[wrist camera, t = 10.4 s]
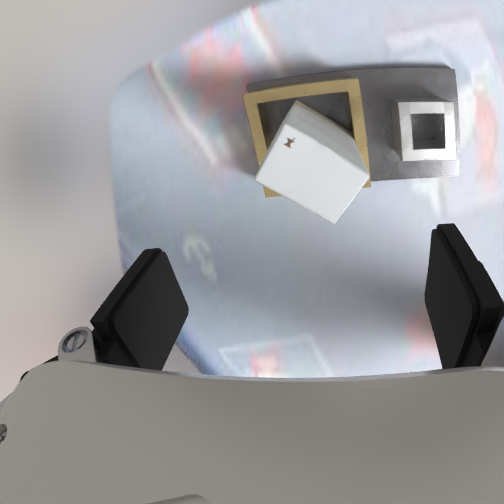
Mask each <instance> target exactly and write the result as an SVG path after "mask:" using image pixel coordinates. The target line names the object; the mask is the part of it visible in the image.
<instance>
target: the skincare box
mask: <svg viewBox="0 0 504 504" xmlns="http://www.w3.org/2000/svg"><path fill="white" fill-rule="evenodd" d="M369 178H370V175H369V172H368V170H367V168H366V166H365V163H364V161H363V159H362V157H361V154H360V152H359V150H358V148H357V145H356V143H355V141H354V139H353V137H352V134H351V132H350V131H348V130H347V129H345V128H344V127H342V126H340V125H339V124H337V123H336V122H334V121H332V120H331V119H329V118H327V117H326V116H324V115H322V114H321V113H319V112H317V111H315V110H314V109H312V108H310V107H308V106H307V105H305V104H303V103H301V102H299V101H298V100H296V101H295V102H294V103H293V105H292V107H291V108H290V110H289V112H288V113H287V115H286V117H285V119H284V120H283V122H282V124H281V126H280V128H279V129H278V131H277V133H276V135H275V137H274V139H273V141H272V143H271V145H270V147H269V149H268V151H267V153H266V155H265V157H264V159H263V161H262V163H261V165H260V167H259V169H258V171H257V173H256V175H255V177H254V179H255V181H257V182H258V183H260V184H262V185H264V186H266V187H268V188H270V189H271V190H273V191H275V192H277V193H279V194H281V195H282V196H284V197H286V198H288V199H290V200H292V201H293V202H295V203H297V204H299V205H301V206H303V207H305V208H306V209H308V210H310V211H312V212H314V213H315V214H317V215H319V216H321V217H322V218H324V219H326V220H328V221H329V222H331V223H332V224H335V223H336V221H337V220H338V219H339V217H340V216H341V215H342V213H343V212H344V211H345V210H346V208H347V207H348V206H349V204H350V203H351V202H352V200H353V199H354V198H355V197H356V195H357V194H358V193H359V191H360V190H361V189H362V187H363V186H364V185H365V183H366V182H367V180H368V179H369Z"/></svg>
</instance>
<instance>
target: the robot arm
mask: <svg viewBox="0 0 504 504" xmlns="http://www.w3.org/2000/svg"><path fill="white" fill-rule="evenodd" d="M425 304H426V308H427V311H428V315H429V318H430V321H431V325H432V329H433V332H434V336H435V340H436V344H437V347H438V352H439V356H440V360H441V364H442V368H443V369H438V370H430V371H420V372H410V373H398V374H384V375H370V376H353V377H328V378H262V377H235V376H217V375H203V374H190V373H179V372H169V371H162V369H163V366H164V364H165V362H166V360H167V358H168V356H169V354H170V351H171V350H172V347H173V345H174V343H175V341H176V339H177V337H178V335H179V333H180V331H181V328H182V326H183V324H184V322H185V320H186V318H187V316H188V312H189V309H188V305H187V303H186V300H185V298H184V296H183V293H182V291H181V289H180V286H179V284H178V281H177V279H176V277H175V274H174V272H173V269H172V267H171V264H170V262H169V259H168V257H167V255H166V253H165V252H162V250H161V249H159V248H154V249H145V250H144V251H143V252H142V253H141V255H140V256H139V257H138V258H137V260H136V261H135V262H134V263H133V265H132V266H131V267H130V268H129V270H128V271H127V272H126V273H125V275H124V276H123V277H122V279H121V280H120V281H119V283H118V284H117V285H116V287H115V288H114V289H113V290H112V292H111V293H110V294H109V296H108V297H107V298H106V300H105V301H104V302H103V304H102V305H101V307H100V308H99V309H98V311H97V312H96V313H95V315H94V316H93V317H92V319H91V320H90V322H91V324H92V325H93V327H94V329H93V331H91V329H89V328H88V327H78V328H75V329H73V330H71V331H70V332H68V333H67V334H66V335H65V336H64V337H63V338H62V340H61V342H60V343H59V348H58V356H56V357H54V358H52V359H50V360H48V361H46V362H45V363H43V364H41V365H39V366H36V367H35V368H33V369H31V370H30V371H27V372H25V373H24V374H23V376H22V377H21V380H20V382H19V384H18V385H17V387H16V388H15V389H14V391H13V392H12V393H11V394H10V395H8V396H7V397H6V398H5V399H4V400H3V401H1V402H0V504H504V302H503V300H502V298H501V297H500V295H499V293H498V291H497V289H496V287H495V285H494V284H493V282H492V280H491V278H490V276H489V275H488V273H487V271H486V270H485V268H484V266H483V264H482V263H481V262H480V261H478V260H477V258H476V257H475V255H474V253H473V252H472V250H471V248H470V247H469V245H468V244H467V242H466V241H465V239H464V237H463V236H462V234H461V233H460V231H459V230H458V228H457V227H456V225H455V224H454V223H451V224H438V225H437V229H433V230H432V235H431V246H430V256H429V266H428V274H427V281H426V289H425Z"/></svg>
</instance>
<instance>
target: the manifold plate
mask: <svg viewBox="0 0 504 504" xmlns="http://www.w3.org/2000/svg"><path fill="white" fill-rule="evenodd" d="M246 86H247V90H248V93H246V94H243V99H244V103H245V107H246V112H247V116H248V120H249V125H250V129H251V133H252V138H253V142H254V147H255V151H256V156H257V160H258V165H259V167H260V165H261V163H262V161H263V159H264V157H265V155H266V153H267V151H268V149H269V147H270V145H271V143H272V141H273V139H274V137H275V135H276V133H277V131H278V129H279V128H280V126H281V124H282V122H283V120H284V119H285V117H286V115H287V113H288V112H289V110H290V108H291V107H292V105H293V103H294V102H295V101H296V100H298V101H299V102H301V103H303V104H305V105H307V106H308V107H310V108H312V109H314V110H315V111H317V112H319V113H321V114H322V115H324V116H326V117H327V118H329V119H331V120H332V121H334V122H336V123H337V124H339V125H340V126H342V127H344V128H345V129H347V130H348V131H350V132H351V134H352V137H353V139H354V141H355V143H356V145H357V148H358V150H359V152H360V154H361V157H362V159H363V161H364V163H365V166H366V168H367V170H368V172H369V175H370V178H369V179H368V180H367V182H366V183H365V185H364V186H363V187H362V188H365V187H371V183H370V181H381V180H396V179H412V178H431V177H455V176H459V166H460V136H459V111H458V96H457V85H456V76H455V69H447V68H376V69H359V70H346V71H335V72H325V73H316V74H308V75H301V76H294V77H287V78H281V79H275V80H269V81H264V82H258V83H253V84H248V85H246ZM263 187H264V192H265V197H273V196H282V195H281V194H279V193H277V192H275V191H273V190H271V189H270V188H268V187H266V186H264V185H263Z"/></svg>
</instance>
